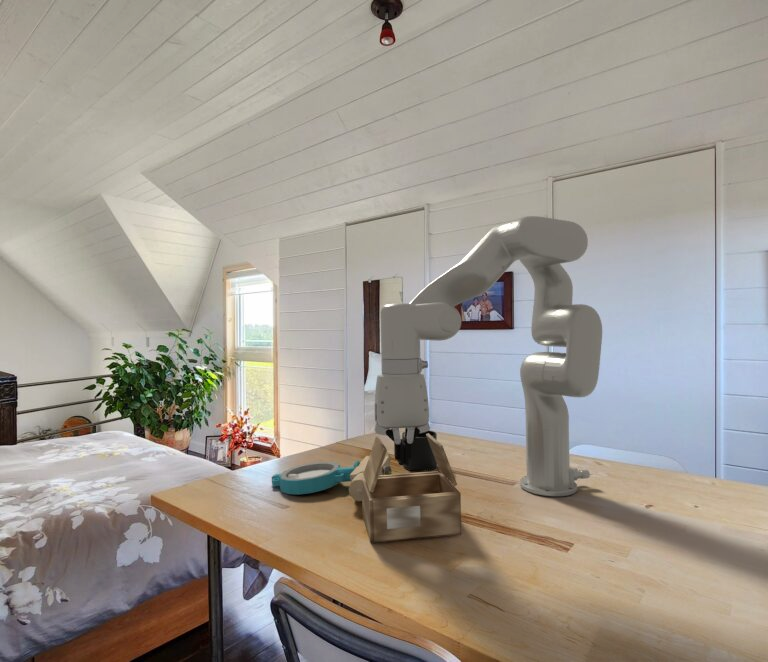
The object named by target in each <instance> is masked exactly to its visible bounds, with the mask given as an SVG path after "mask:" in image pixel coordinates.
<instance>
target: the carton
mask: <svg viewBox="0 0 768 662" xmlns="http://www.w3.org/2000/svg"><path fill="white" fill-rule="evenodd" d="M461 500H462V499H461V492H460V490H458V488H456V486H454V485H453V484H452V483H451V482H450V481H449V480H448V479H447V477H446V476H445V475H444V474H443V473H442V472H439V471H438V470H434V471H433V470H432V471H418V472H410V473H409V472H407V473H394V474H392V473H391V475H379V476H378V479H377V482H376V485H375V488H374V491H373V492H370V491H369V488H368V485H367V483H366V480H365V477H364V479H362V501H361V502H362V503H361V504H362V505H361V506H362V518H363V522H364V525H365V529H366V532H367V535H368V540H369V543H370V544H377V543H385V542H396V541H406V540H417V539H427V537H428V539H429V538H436V536H439V537H446V536H447V535H449V536H457V535H458V534H459V535H462V503H461ZM447 537H448V536H447Z"/></svg>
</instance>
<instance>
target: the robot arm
mask: <svg viewBox="0 0 768 662" xmlns="http://www.w3.org/2000/svg"><path fill="white" fill-rule="evenodd" d="M586 232H587V231H585V230H584V228H583V227H582V226H581V225H580V224H579V223H577V222H574V221H570V220H565V219H557V218H552V217H551V218H550V217H545V216H537V215H536V216H534V215H533V216H531V215H528V216H523V217H519V218H516V219H513V220H509V221H506V222H503V223H499V224H497V225H495V226H494V227H492V228H491V229H490V230H489V231H488V232H487V233H486V234H485V235H484V237H482V238H481V239H480V240H479V242H478V243H477V244H476V245H475V246H474V247H473V248H472V249H471V250H470V251H469V252H468V253H467V254H466V255H465V256H464V257H463V258H462V259H461V260H460V261H459V262H458V263H457V264H455V265H454V266H453V267H451V268H450V269H448V270H446V272H445V273H443V274H441V275H440V276H439V277H437V278H435V279H434V280H433V281H432V282H430V283H429V284H428V285H427V286H425V287H424V288H423V289H422V290H421V291H420V292H419V293H418V294H416V296H414V298H413V299H412V300H411V301H409V303H404V302H403V303H398V302H397V303H389V304H384V305H383V306H382V307H381V309H380V349H381V350H380V354H381V355H380V356H381V360H380V361H381V374H378V375H377V377H376V383H375V393H374V421H375V426H374V428H373V429H374V430H373V431H374V432H375V435H376V434H377V435H381V436H387V437H388V438H389V439H390V440H391V441H393V445H394V450H393V451H394V459H395V461H397V463H398V464H399V465H400V466H403V464H405V465H409V459H411V443H412V442H413V440H414V439H415V438H416V437H417V435H418V434H419V433H423V432H426V431H431V426H430V405H429V397H428V396H429V395H428V388H427V387H428V386H427V382H426V377H425V375H424V374H423V373H422V370H424V369H427V368H428V366H429V363H428V360H423V359H422V358H421V341H438V342H439V341H446V340H450V339H452V338H453V337H454V336H456V335H457V334H458V333H459V331H460V329H461V327H462V317H461V314H460V312H459V311H458V308H456V306H457V305H459V304H461V303H464V302H467V301H470V300H472V299H475V298H477V297H479V296H481V295H483V294H485V293H487V292H488V291H489V290H491V289H492V288H493V286H494V285H495V284H496V282H497V281H498V280H499V279H500V278H501V277H502V276H503V275H504V273H505V272H506V271H507V270H508V269H509V268H510V267H511V266H512V265H513V264H514V263H515V262H516V261H519V262H520V263H521V264H522V266H523V267H524V268H525V269H526V270H527V271H528V273H529V275H530V277H531V279H532V281H533V286H534V295H533V297H534V298H533V304H532V316H531V317H532V318H531V328H530V329H531V331H530V332H531V337H532V339H533V341H534V342H535V343H537V344H538V345H541V346H544V347H555V348H556V347H557V348H558V347H559V348H566V351H565V352H559V351H557V352H556V351H555V352H553V351H538V352H534V353H531V354H529V355H527V356H526V357H525V358H524V359H523V361H522V362H521V365H520V368H519V369H520V371H519V375H520V382H521V387H522V391H523V397H524V405H525V412H524V413H525V453H526V455H525V456H526V457H525V458H526V459H525V460H526V461H525V462H526V475H525V476H523V477H521V478H520V481H519V486H520V487H521V488H522V489H523V490H525V491H526V492H529V493H530V494H535V495H538V496H539V495H540V496H543V497H544V496H545V497H565V496H571V495H573V494H575V493H576V492H577V491H578V483H576V481H578V479H580V480H581V479H583V480H585V479H589V478H590V471H589V470H588V469H581V470H578V468H577V467H575V468H572V467H570V465H571V464H570V426H569V425H570V418H569V417H570V415H569V408H568V406H567V403H566V400H565V398H564V397H568V398H569V397H570V398H578V399H579V398H585V397H588V396H589V395H591V394H592V393H594V390H595V389H596V387H597V384H598V380H599V374H600V373H599V372H600V367H601V366H600V365H601V363H600V362H601V355H602V342H603V324H602V319H601V316H600V314H599V313H598V311H597V310H596V309H595V308H594V307H592V306H590V305H587V304H583V303H580V304H577V303H576V304H575V303H574V304H573V295H574V294H573V292H574V291H573V282H572V279H571V277H570V275H569V274H568V272H567V270H566V269H565V268H564V267H563V266H562V264H565V263H572V262H575V261H577V260H580V259H581V258H582V257H583V256H584V254H585V253H586V251H587V249H588V246H589V245H588V244H589V239H588V234H587V233H586ZM400 429H404V432H405V433H404V438H403V440H401V439H402V437H401V434H400Z"/></svg>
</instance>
